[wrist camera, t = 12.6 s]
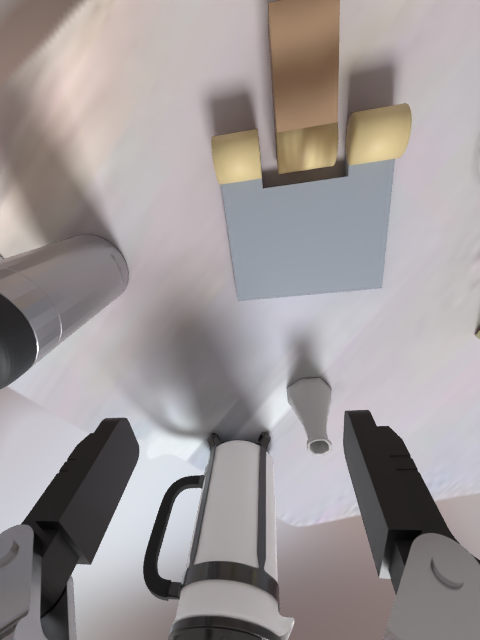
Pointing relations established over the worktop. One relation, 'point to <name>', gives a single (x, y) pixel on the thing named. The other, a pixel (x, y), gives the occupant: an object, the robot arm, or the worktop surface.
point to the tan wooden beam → (305, 82)
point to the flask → (312, 411)
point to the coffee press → (226, 549)
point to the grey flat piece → (312, 212)
